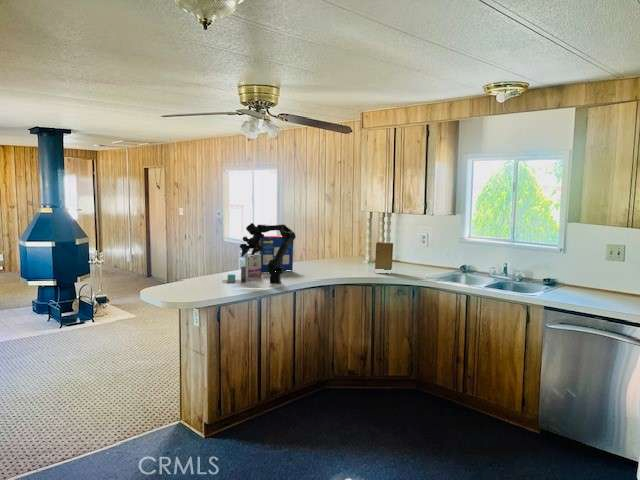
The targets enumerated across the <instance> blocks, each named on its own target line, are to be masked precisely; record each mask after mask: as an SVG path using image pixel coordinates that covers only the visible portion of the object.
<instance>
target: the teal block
mask: <svg viewBox="0 0 640 480" xmlns="http://www.w3.org/2000/svg"><path fill="white" fill-rule="evenodd" d="M227 280H228V282H235V280H236V273H233V272H231V273H227Z"/></svg>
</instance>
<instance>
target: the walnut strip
mask: <svg viewBox="0 0 640 480" xmlns="http://www.w3.org/2000/svg"><path fill="white" fill-rule="evenodd" d="M246 278H247V277H246V267H245V265H244V266H241V268H240V279H235V282H228V279H222V282H221V283H222V284H252V280H251V279H246Z"/></svg>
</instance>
